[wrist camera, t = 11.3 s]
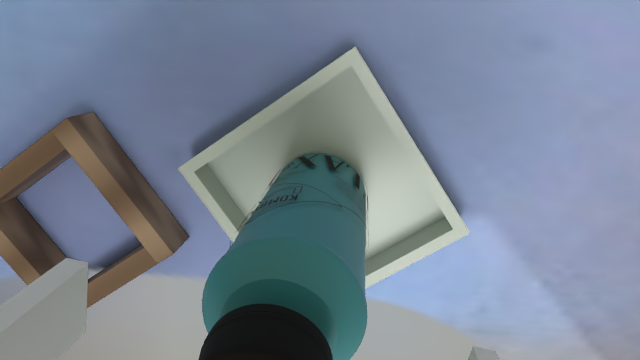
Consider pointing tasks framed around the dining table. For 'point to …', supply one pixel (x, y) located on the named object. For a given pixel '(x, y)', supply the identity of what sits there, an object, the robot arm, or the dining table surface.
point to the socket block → (115, 185)
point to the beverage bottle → (294, 270)
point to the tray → (341, 139)
